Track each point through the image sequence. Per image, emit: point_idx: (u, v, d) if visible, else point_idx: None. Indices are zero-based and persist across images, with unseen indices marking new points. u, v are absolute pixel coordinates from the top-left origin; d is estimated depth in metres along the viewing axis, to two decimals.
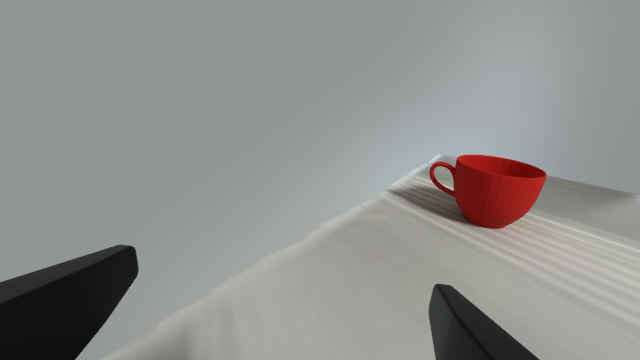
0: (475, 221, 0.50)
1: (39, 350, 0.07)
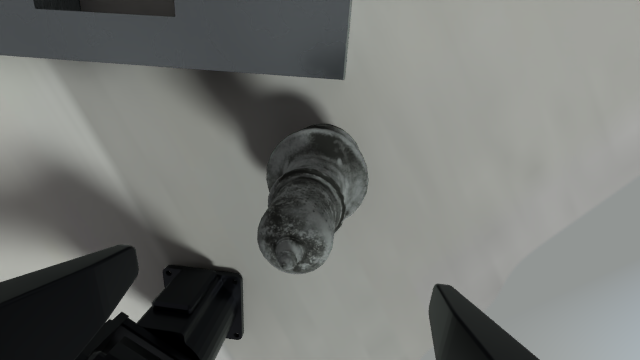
0: None
1: (39, 350, 0.07)
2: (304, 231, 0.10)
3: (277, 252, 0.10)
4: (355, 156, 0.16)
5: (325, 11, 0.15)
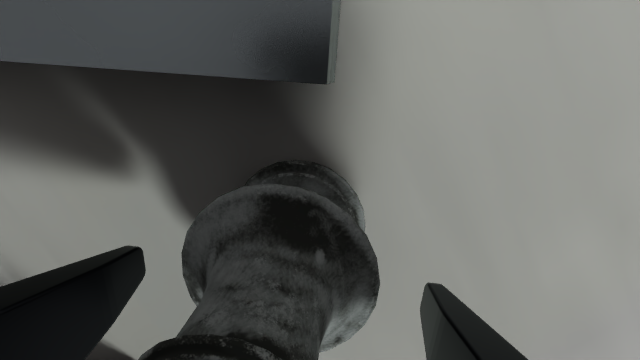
0: None
1: (48, 351, 0.07)
2: None
3: None
4: (352, 241, 0.08)
5: None
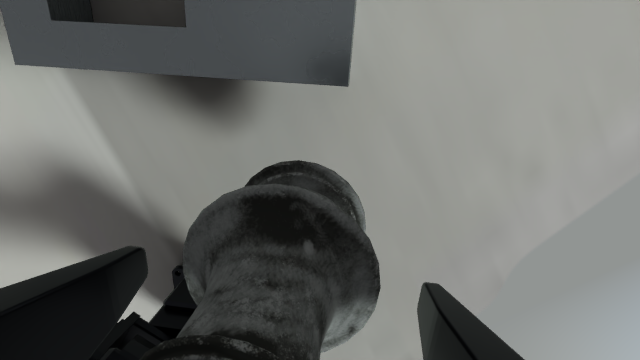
0: None
1: (51, 352, 0.07)
2: None
3: None
4: (339, 227, 0.08)
5: (330, 21, 0.15)
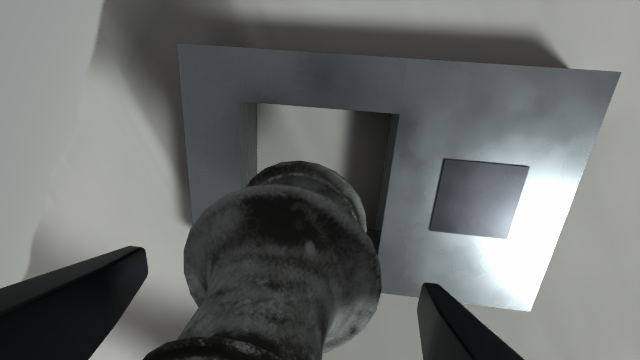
0: None
1: (51, 352, 0.07)
2: None
3: None
4: (341, 227, 0.08)
5: (524, 263, 0.16)
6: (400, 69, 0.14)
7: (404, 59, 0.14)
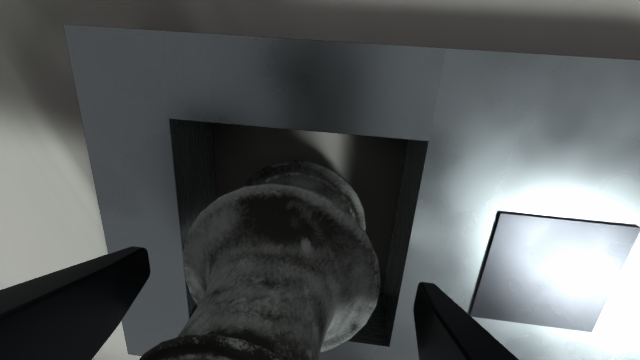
0: None
1: (55, 353, 0.07)
2: None
3: None
4: (337, 223, 0.08)
5: None
6: (432, 67, 0.08)
7: (439, 50, 0.08)
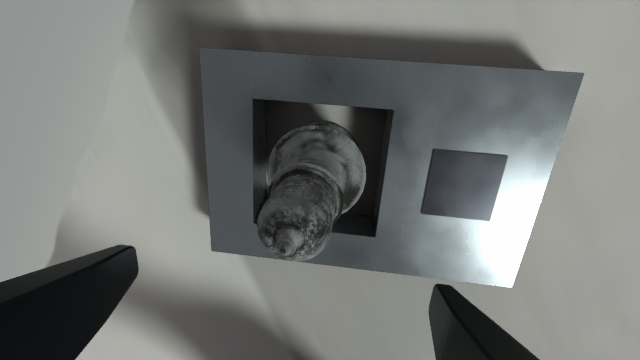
0: None
1: (39, 350, 0.07)
2: (303, 254, 0.11)
3: (291, 230, 0.10)
4: None
5: (506, 243, 0.18)
6: (394, 70, 0.16)
7: (397, 62, 0.16)
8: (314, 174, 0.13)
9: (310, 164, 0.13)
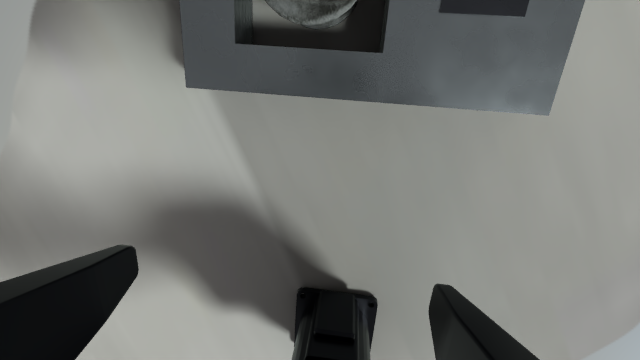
0: None
1: (39, 350, 0.07)
2: None
3: None
4: (323, 14, 0.15)
5: (543, 50, 0.15)
6: None
7: None
8: None
9: None
